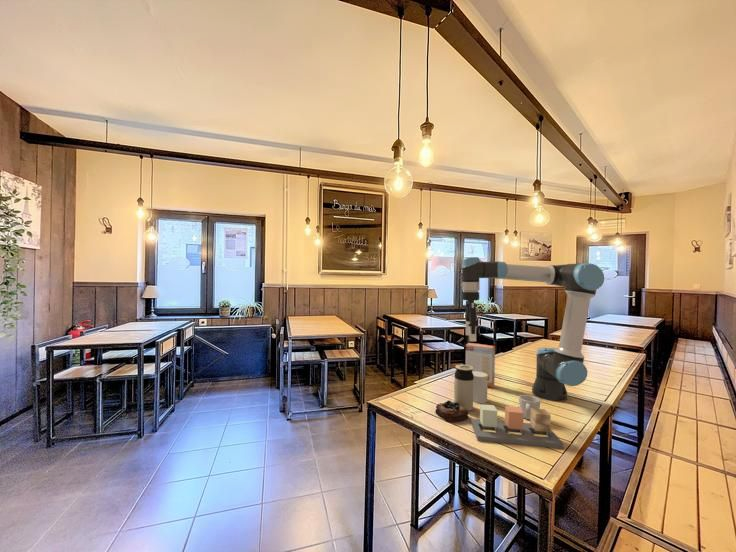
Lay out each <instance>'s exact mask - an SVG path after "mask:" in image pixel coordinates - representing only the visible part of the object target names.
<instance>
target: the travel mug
mask: <svg viewBox="0 0 736 552" xmlns="http://www.w3.org/2000/svg"><path fill="white" fill-rule="evenodd" d="M472 370H473V367H472V366H469V365H466V364H455V371H454V381H453V382H454V383H453V384H454V385H453V387H454V388H453V389H454V391H453V392H454V393H453V402H458V403H459V406H462V407H464V408H466V409H468V410H467V411H468V412H469V411H472V410H473V409H474V402H473V383H474V375H473V373H472Z"/></svg>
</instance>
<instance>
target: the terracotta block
mask: <svg viewBox="0 0 736 552" xmlns="http://www.w3.org/2000/svg"><path fill="white" fill-rule="evenodd" d="M524 419H525V418H524V413H523V412H522V410H521V409H520V406H519V407H518V406H509V405H508V406H507V405H505V406H504V421H505V423H506V425H507V427H508V428H509V429H521V430H523V423H524Z"/></svg>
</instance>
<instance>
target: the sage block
mask: <svg viewBox="0 0 736 552" xmlns="http://www.w3.org/2000/svg"><path fill="white" fill-rule="evenodd" d="M479 404H480V405H479V419H480V422H481V424H482V426H486V427H497V421H498V410H497V407H495V405H494V404H483V403H479Z"/></svg>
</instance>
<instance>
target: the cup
mask: <svg viewBox="0 0 736 552" xmlns="http://www.w3.org/2000/svg"><path fill="white" fill-rule="evenodd" d="M541 401H542V400H541V399H540V397H538V396H536V395H535V396H534V395H530V394H520V395H519V396H518V402H519V404H518V405H519V408H520V409H521V410H522V412H523V413H524V419H526V420H529V421H530V419H531V408H535V409H541Z"/></svg>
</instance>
